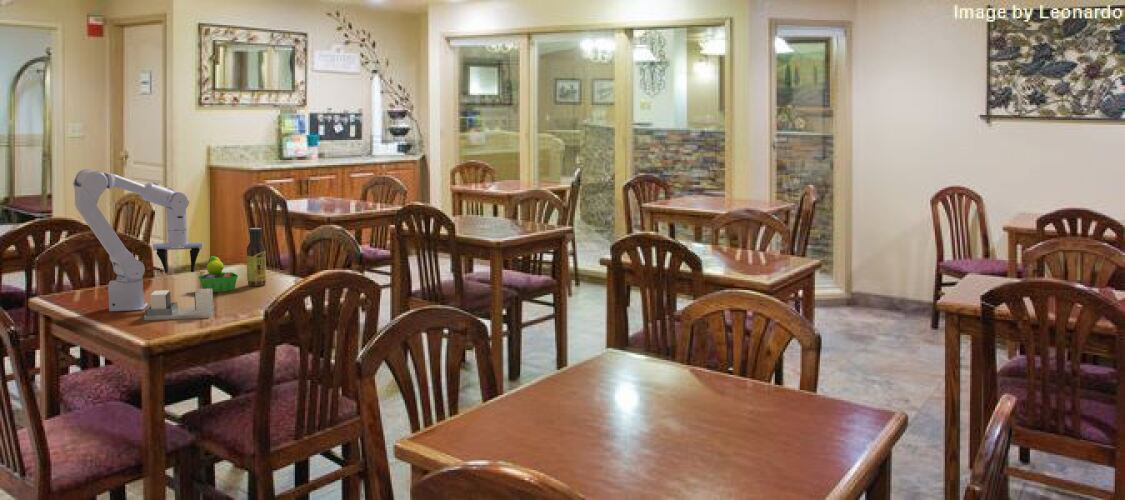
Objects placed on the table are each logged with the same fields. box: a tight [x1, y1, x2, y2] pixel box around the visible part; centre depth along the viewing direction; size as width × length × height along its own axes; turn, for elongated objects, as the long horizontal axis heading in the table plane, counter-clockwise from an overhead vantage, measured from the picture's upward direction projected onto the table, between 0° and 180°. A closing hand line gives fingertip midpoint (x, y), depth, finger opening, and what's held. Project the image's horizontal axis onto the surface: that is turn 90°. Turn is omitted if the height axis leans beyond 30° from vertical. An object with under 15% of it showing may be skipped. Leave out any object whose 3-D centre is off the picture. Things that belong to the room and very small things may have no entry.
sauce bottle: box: [246, 227, 267, 287], centre depth 314 cm, size 7×6×20 cm
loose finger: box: [150, 289, 172, 309], centre depth 269 cm, size 4×6×6 cm
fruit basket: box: [197, 255, 239, 293], centre depth 306 cm, size 11×9×11 cm
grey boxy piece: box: [143, 288, 216, 321], centre depth 271 cm, size 18×10×7 cm, turn 103°
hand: (179, 272), depth 288 cm, fingers open, 7 cm apart
